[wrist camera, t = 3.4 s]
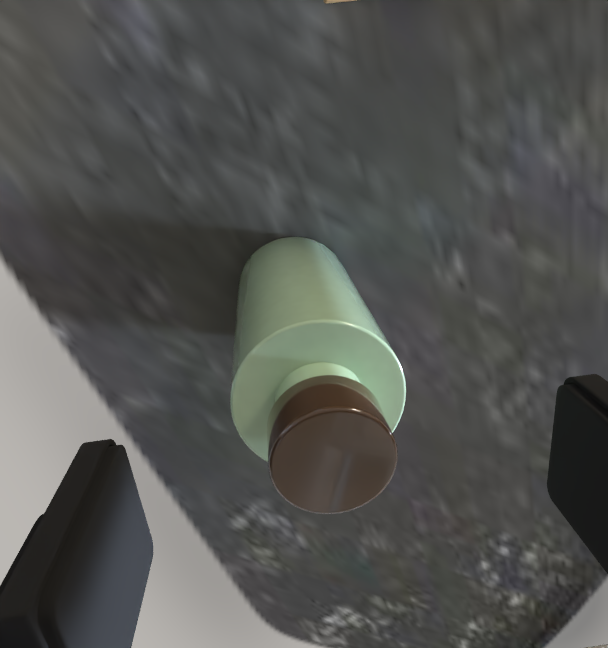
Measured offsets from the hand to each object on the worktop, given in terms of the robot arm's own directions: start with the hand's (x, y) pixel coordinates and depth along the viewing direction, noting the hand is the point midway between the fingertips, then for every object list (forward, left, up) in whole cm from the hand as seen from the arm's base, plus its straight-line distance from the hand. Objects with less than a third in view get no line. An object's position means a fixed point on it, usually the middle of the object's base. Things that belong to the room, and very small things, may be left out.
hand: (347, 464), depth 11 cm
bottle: (0, 0, -11) cm, 11 cm away
